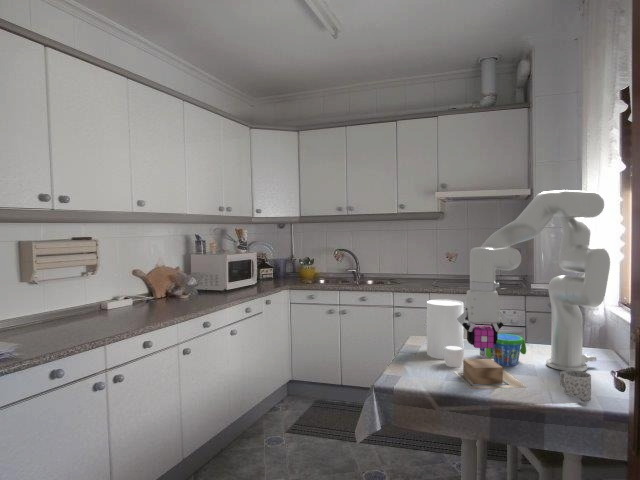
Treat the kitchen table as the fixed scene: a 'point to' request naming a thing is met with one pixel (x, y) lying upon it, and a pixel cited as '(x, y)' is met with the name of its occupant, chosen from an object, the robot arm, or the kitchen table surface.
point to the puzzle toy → (483, 337)
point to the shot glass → (453, 356)
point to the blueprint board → (507, 383)
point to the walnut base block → (482, 371)
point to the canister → (443, 326)
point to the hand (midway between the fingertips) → (482, 343)
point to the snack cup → (507, 349)
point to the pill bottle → (483, 352)
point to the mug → (576, 384)
